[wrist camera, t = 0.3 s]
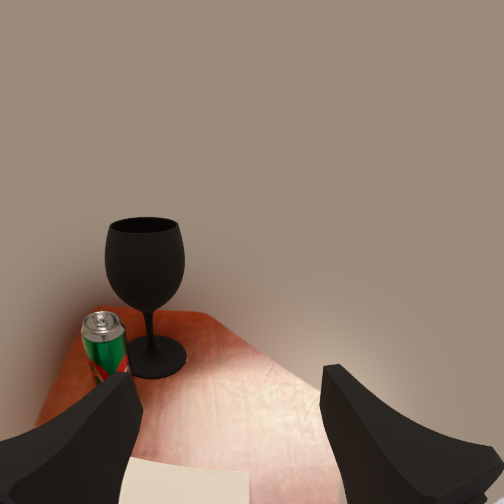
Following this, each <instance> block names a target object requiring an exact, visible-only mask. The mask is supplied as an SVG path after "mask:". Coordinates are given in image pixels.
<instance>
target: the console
mask: <svg viewBox="0 0 504 504" xmlns="http://www.w3.org/2000/svg"><path fill="white" fill-rule="evenodd" d="M119 504H249V472H237V471H221V470H209V469H199V468H191V467H183V466H176V465H170V464H164V463H158V462H153V461H147V460H143V459H138V458H133V457H130V459H129V462H128V465H127V468H126V471H125V474H124V478H123V481H122V486H121V492H120V497H119Z"/></svg>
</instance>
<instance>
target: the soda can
mask: <svg viewBox="0 0 504 504" xmlns="http://www.w3.org/2000/svg"><path fill="white" fill-rule="evenodd" d="M82 326H83V327H82V329H81V336H82V340H83V344H84V348H85V352H86V355H87V359H88V363H89V366H90V370H91V373H92V377H93V380H94V383H95V386H96V387H97V386H98V385H99V384H100V383H102V382H103V381H104V380H105V379H107V378H108V377H109V376H110V375H112V374H113V373H114V372H116V371H120V372H130V374H131V377H132V380H133V383H134V386H135V388H136V385H135V381H134V376H133V371H132V366H131V360H130V355H129V349H128V343H127V337H126V330H125V326H124V324H123V323H122V322H121V319H120V317H119V316H118V315H117V314H115V313H112V312H107V311H101V312H95V313H92V314H90V315H88V316H87V317H86V318H85V319H84V320H83V322H82ZM136 391H137V390H136Z"/></svg>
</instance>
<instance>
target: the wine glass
mask: <svg viewBox="0 0 504 504" xmlns="http://www.w3.org/2000/svg"><path fill="white" fill-rule="evenodd" d="M184 267H185V254H184V246H183V241H182V236H181V232H180V229H179V225H178V223H177V222H175V221H173V220H170V219H165V218H157V217H137V218H128V219H123V220H119V221H116V222H114V223H112V224H111V225H110V226H109V230H108V234H107V239H106V246H105V268H106V274H107V277H108V280H109V282H110V285H111V287H112V289H113V290H114V292H115V293H116V294H117V296H119V298H120V299H121V300H123V301H124V302H125V303H126V304H128V305H129V306H131V307H133V308H135V309H137V310H139V311H141V312H142V313H143V316H144V319H145V325H146V332H147V336H144V337H139V338H136V339H134V340H132V341H130V342H128V349H129V355H130V360H131V366H132V371H133V375H134V376H137V377H140V378H145V379H158V378H164V377H167V376H170V375H172V374H174V373H176V372H177V371H179V370H180V369H181V368H182V367H183V365H184V364H185V362H186V351H185V349H184V348H183V346H182V345H181V344H180V343H178V342H177V341H175V340H173V339H171V338H168V337H164V336H153V321H152V320H153V312H154V311H155V310H156V309H158V308H160V307H161V306H162V305H164V304H166V302H168V301H169V300H170V299H171V298H172V297H173V295H174V294H175V293H176V291H177V290H178V288H179V286H180V283H181V281H182V278H183V274H184Z"/></svg>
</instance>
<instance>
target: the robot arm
mask: <svg viewBox="0 0 504 504" xmlns="http://www.w3.org/2000/svg"><path fill="white" fill-rule="evenodd" d="M319 406H320V410H321V415H322V420H323V424H324V428H325V431H326V434H327V437H328V440H329V442H330V445H331V448H332V451H333V453H334V456H335V459H336V462H337V465H338V467H339V470H340V473H341V477H342V480H343V484H344V489H345V494H346V498H347V503H348V504H484V503H485V502H486V501H487V497H486V496H485V494H484V493H485V492H486V490H487V489H488V488H489V487H490V486H491V485H492V484H493V483H494V482H495V481H496V480H497V478H498V477H499V476H500V475H501V473H502V471H503V470H504V463H503V461H502V460H501V458H500V457H499V455H498V454H497V453H496V451H495V450H494V449H493V447H491V446H485V445H479V444H474V443H469V442H465V441H461V440H458V439H455V438H451V437H448V436H445V435H442V434H440V433H438V432H435V431H433V430H430V429H428V428H426V427H424V426H422V425H420V424H418V423H416V422H414V421H412V420H410V419H409V418H407V417H405V416H403V415H402V414H400V413H399V412H397V411H395V410H394V409H392V408H391V407H390V406H388V405H387V404H385V403H384V402H383V401H381V400H380V399H379V398H377V397H376V396H375V395H374V394H373V393H371V392H370V391H369V390H368V389H366V388H365V387H364V386H363V385H362V384H361V383H360V382H359V381H358V380H357V379H355V378H354V377H353V376H352V375H351V374H350V373H349V372H348V371H347V370H346V369H345V368H344V367H342V366H341V365H340V364H335V365H327V366H323V376H322V386H321V395H320V403H319ZM142 414H143V408H142V405H141V402H140V400H139V397H138V394H137V391H136V388H135V386H134V383H133V380H132V377H131V374H130V372H120V371H116V372H114V373H113V374H112V375H110V376H109V377H108V378H107V379H105V380H104V381H103V382H102V383H100V384H99V385H98V386H97V387H96V388H94V389H93V390H92V391H91V392H89V393H88V394H87V395H86V396H84V397H83V398H82V399H81V400H79V401H78V402H77V403H75V404H74V405H72V406H71V407H70V408H68V409H67V410H65V411H64V412H63V413H61V414H60V415H58V416H57V417H55V418H53V419H52V420H50V421H48V422H46V423H45V424H43V425H41V426H39V427H37V428H35V429H32V430H30V431H28V432H26V433H23V434H21V435H19V436H16V437H13V438H10V439H7V440H3V441H0V504H119V497H120V492H121V486H122V481H123V478H124V474H125V471H126V468H127V465H128V462H129V459H130V456H131V453H132V450H133V448H134V445H135V442H136V439H137V436H138V433H139V429H140V424H141V419H142ZM493 504H504V496H503V497H502V498H500V499H499V500H498V501H496V502H495V503H493Z"/></svg>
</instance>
